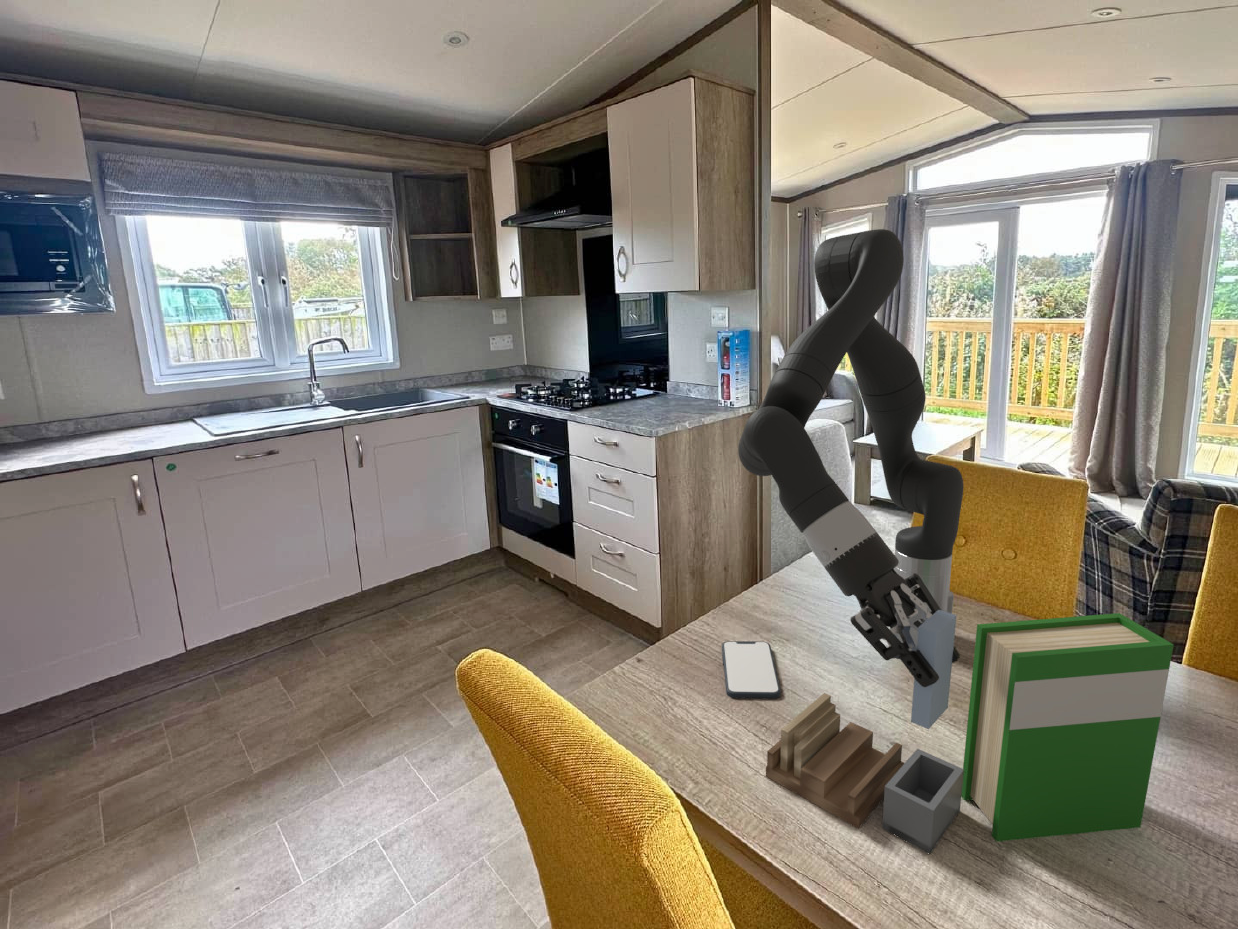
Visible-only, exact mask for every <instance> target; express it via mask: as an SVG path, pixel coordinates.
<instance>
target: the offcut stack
mask: <svg viewBox="0 0 1238 929" xmlns="http://www.w3.org/2000/svg"><path fill="white" fill-rule="evenodd" d="M831 700H832V696H831V695H830V694H828V693H825V692H824V693H822V694H821V695H820V696H819V697H818V698H816V700H814V701H813V702H812V703H810V704H809V705H808V706H807V707H806V708H805V709H804V710H802V711H801V712H800V713H799V714H797V716H795V717H793V719H792V720H790V721H789V722H788V723H787V724H786V725H785V726H783V727H782V728H781V729H780V740H781V761H780V769H782V770H784V771H786V772H787V771H789V770H790V769H791V768H792V767H793V766H794V776H796V777H798V778H800V775H801V768H802V767H803V766H804V765H805V764H807V763H808V762H809V761H810V760H811V759H812V758H813V757H814V756H815V755H816V754H817V753H818V752H819V751H820V750H821V749H822V748H823V747H825V746H826V745H827V744H828V743H829V742H830V741H831V740H832V739H833V738H834V737H835V736H836V735H837V734H838V733H839V732H840V729H841V713H838V712H836V709H837V708H836V706H837V704H834V703H833V702H832V701H831Z"/></svg>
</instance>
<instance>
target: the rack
mask: <svg viewBox="0 0 1238 929" xmlns="http://www.w3.org/2000/svg"><path fill="white" fill-rule="evenodd" d="M873 740H874V731H872V730H869V729H868V728H865V727H863V726H862V725H858V724H856V723H854V722H851V721H849V723H848V724H846V725H845V727H843V728H842V729H841V731H840V732H839V733H838V734H837V735H836V736H835V737H834V738H833V739H832V740H831V741H830V742H829V743H828V744H827V745H826V746H825V747H823V748H822V749H821V750H820V751H819V752H818V753H817V754H816V755H815V756H814V757H813V758H812V759H811V760H810V761H809V762H808V763H807V764H805V765H804V766H803V767H802V768H801V775H800V778H798V777H796V776H794V766H793V767H792V768H791V769H790V770H789V771H787V772H786V771H784V770H782V769H780V761H781V739H780V740H779V741H777V742H776V743H774V745H772V746H771V747H770V748H769V749H768V750H767V754H766V755H767V756H766V761H767V762H766V764H767V765H765V777H767V778H769V779H771V780H772V781H773V782H775V783H777V784H779V785H781V786H782V787H784V788H786V789H788V790H790V791H791V792H793V793H795V794H797V795H798V796H800V797H802V798H804V799H805V800H807V801H809V802H811V803H812V804H814V805H816V806H818V807H819V808H821V809H823V810H825V811H827V812H828V813H830V814H832V815H834V816H835V817H838V818H839V819H840V820H842V821H844V822H846V823H848V824H850V825H851V824H852V825H851V826H853V827H855V828H856V829H860V828H861V826H862V825H863V824H865V822H866V820H867V819H868V818H869V817H870V816H871V815H872V813H874V811H875V810H876V808H878V806H879V805H880V804H881V803H882V802H883V801H884V792H885V785H886V784H887V783H888V782H889V781H890V780H891V779H892V777H893V776H894V775H895V774H896V773H897V772H898V770H899V769H900V768H901V767H902V766H903V765H904V763H905V762H904V761H902V753H903V752H902V751H903V744H900V743H898V742H895V743H894V744H893V745H892V746H891V747H890V748H889V750H888V751H887V752H886V753H884V752H882V751H880V750H878V749H876V748H874V747H873V744H874V743H873Z"/></svg>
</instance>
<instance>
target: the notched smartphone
mask: <svg viewBox="0 0 1238 929" xmlns="http://www.w3.org/2000/svg"><path fill="white" fill-rule="evenodd" d="M721 653H722V654H721V657H722V658H721V659H722V666H723V674H724V683H725V694H726V695H727V697H729V698H731V699H752V700H753V699H756V700H757V699H760V700H762V699H766V700H777V699H778V698H780V697H781V693H782V692H781V686H780V682H779V678H778V674H777V669H776V663H775V659H774V656H773V651H772V646H771V644H770V643H769V642H767V641H758V640H757V641H755V640H754V641H751V640H749V641H748V640H747V641H746V640H743V641H742V640H741V641H739V640H738V641H736V640H732V641H731V640H730V641H729V640H726V641H724V642H723V643H722V644H721Z"/></svg>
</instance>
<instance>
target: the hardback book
mask: <svg viewBox="0 0 1238 929" xmlns="http://www.w3.org/2000/svg"><path fill="white" fill-rule="evenodd" d="M974 643H975V644H974V654H973V663H972V664H973V665H972V675H971V684H970V692H969V693H970V695H969V704H968V714H967V726H966V734H965V735H966V736H965V743H964V745H965V746H964V757H963V764H962V765H963V766H962V769H964V775H963V785H962V795H961V799H963V800H964V801H965V802H967V801H974V802H975V804H976V805H977V807H978V808H979V809H980V810H981V811H982V813H983V814H984V815H985V817H987V819H988V820H989V822H990V823H991V824H992V828H991V836H992V838H993V840H995V842H997V843H998V842H1006V841H1007V842H1008V841H1016V840H1026V839H1027V840H1028V839H1033V838H1034V839H1035V838H1036V839H1037V838H1048V837H1056V836H1058V837H1059V836H1068V835H1079V834H1087V833H1098V832H1099V833H1100V832H1108V831H1110V832H1111V831H1116V830H1117V831H1118V830H1128V829H1129V830H1130V829H1139V828H1141V826H1142V822H1143V816H1144V809H1145V805H1146V800H1147V793H1148V789H1149V783H1150V782H1149V781H1150V776H1151V773H1152V772H1151V771H1152V766H1153V760H1154V755H1155V750H1156V745H1157V738H1158V734H1159V729H1160V728H1159V727H1160V722H1161V716H1162V710H1163V706H1164V701H1165V694H1166V690H1167V688H1166V687H1167V684H1168V677H1169V672H1170V667H1171V666H1170V665H1171V660H1172V656H1173V650H1174V644H1173V643H1172V642H1170V641H1168V640H1167V639H1165V638H1163V637H1161V636H1160V635H1159V634H1156V633H1155V632H1153V631H1151V630H1149V629H1148V628H1146V627H1145V626H1143V625H1141V624H1140V623H1137V622H1135V621H1134V620H1132V619H1131V618H1129V617H1127V616H1125V615H1124V614H1122V613H1120V612H1116V613H1115V612H1114V613H1104V614H1092V615H1079V616H1068V617H1067V616H1066V617H1064V616H1063V617H1057V618H1056V617H1053V618H1041V619H1028V620H1016V621H1004V622H1002V621H1001V622H991V623H978V624H976V633H975V642H974Z"/></svg>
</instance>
